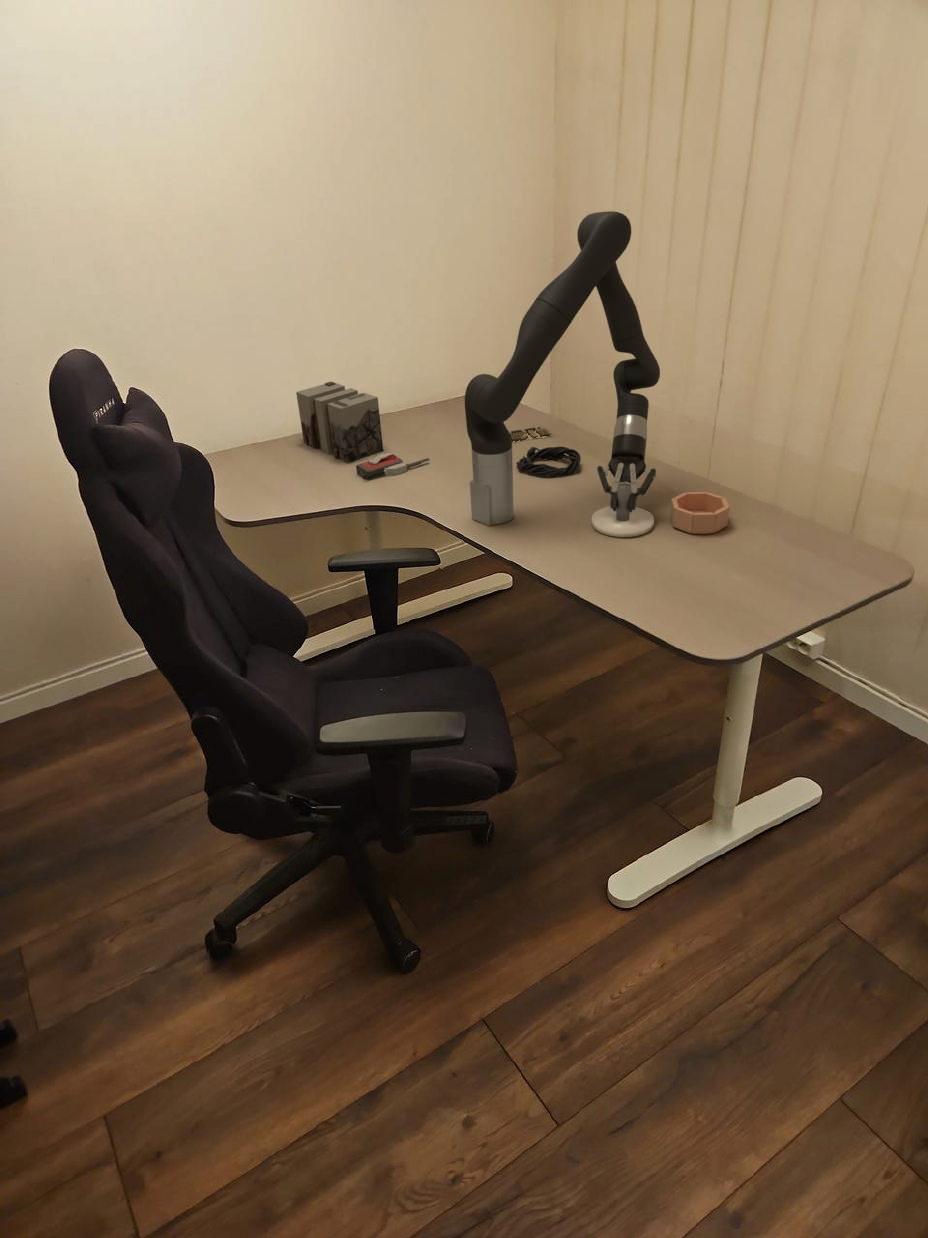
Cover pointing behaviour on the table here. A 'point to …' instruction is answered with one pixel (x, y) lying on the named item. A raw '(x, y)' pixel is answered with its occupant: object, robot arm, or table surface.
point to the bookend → (340, 421)
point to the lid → (622, 517)
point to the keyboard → (521, 435)
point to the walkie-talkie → (384, 466)
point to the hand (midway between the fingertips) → (622, 510)
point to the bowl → (699, 512)
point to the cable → (549, 454)
